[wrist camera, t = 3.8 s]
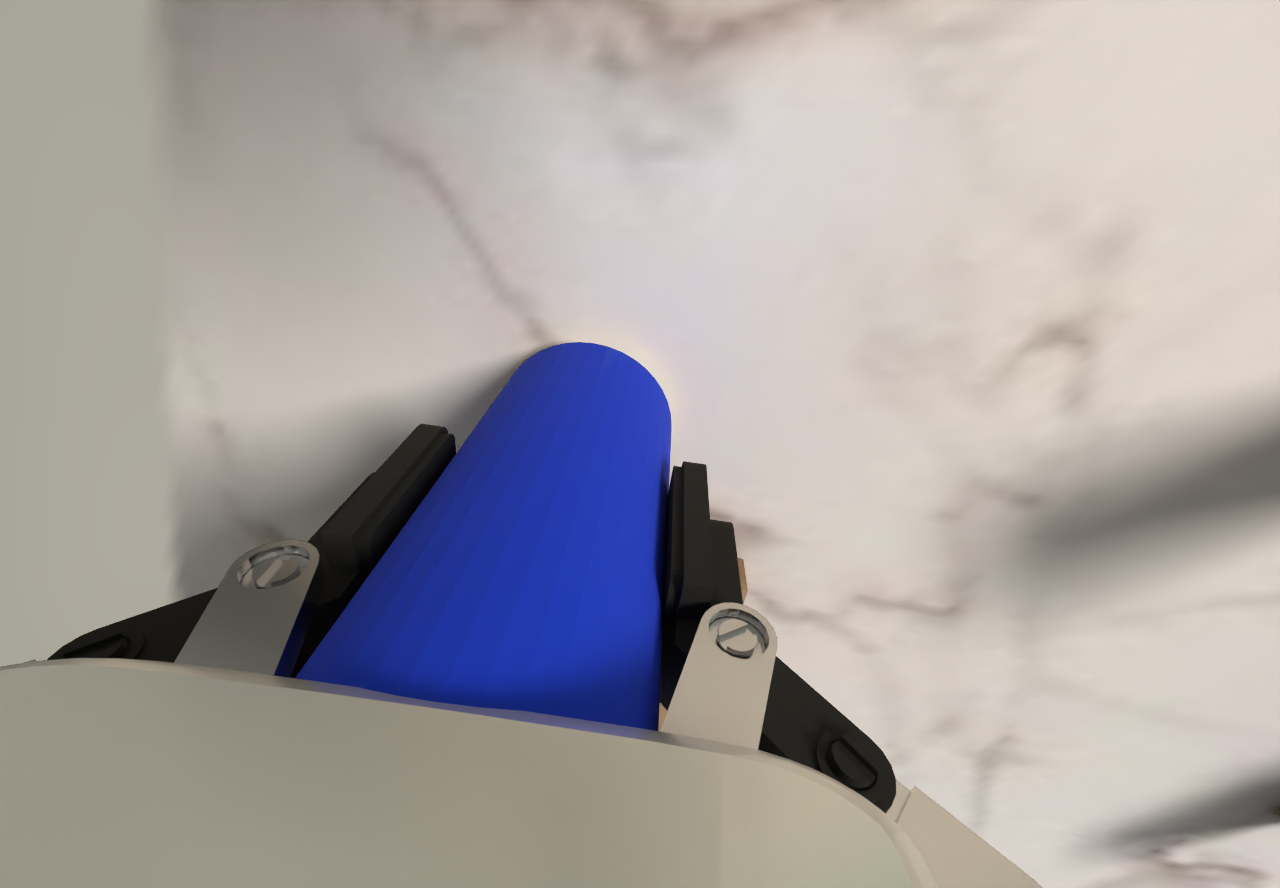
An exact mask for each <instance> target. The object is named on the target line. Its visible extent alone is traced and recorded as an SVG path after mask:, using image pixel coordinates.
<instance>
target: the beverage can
mask: <svg viewBox="0 0 1280 888" xmlns="http://www.w3.org/2000/svg"><path fill="white" fill-rule="evenodd" d="M670 448H671V413H670V410H669V406H668V402H667V399H666V397H665V395H664V393H663V390H662V389H661V387H660V386H659V384H658V383H657V381H656V380H655V378H654V377H653V376H652V375H651V374H650V373H649V372H648V371H647V370H646V368H644V367H643V366H642V365H641V364H639V363H638V362H637V361H636V360H634V359H633V358H631V357H629V356H627V355H626V354H624V353H622V352H620V351H617V350H615V349H612V348H610V347H607V346H603V345H598V344H594V343H582V342H577V343H565V344H560V345H556V346H552V347H549V348H547V349H545V350H542V351H540V352H538V353H536V354H535V355H533V356H532V357H530V358H528V359H527V360H526V361H525V362H524V363H523V364H522V365H521V366H520V367H519V368H518V369H517V370H516V372H515V373H514V374H513V376H512V377H511V378H510V380H509V381H508V383H507V384H506V385H505V387H504V388H503V390H502V391H501V392H500V394H499V395H498V397H497V398H496V399H495V401H494V402H493V404H492V405H491V406H490V408H489V409H488V410H487V412H486V413H485V415H484V416H483V417H482V419H481V420H480V422H479V423H478V424H477V426H476V427H475V429H474V430H473V431H472V433H471V434H470V435H469V437H468V438H467V440H466V441H465V442H464V444H463V445H462V447H461V448H460V449H459V451H458V452H457V454H456V455H455V456H454V458H453V459H452V461H451V462H450V463H449V465H448V466H447V467H446V469H445V470H444V472H443V473H442V474H441V476H440V477H439V479H438V480H437V481H436V483H435V484H434V486H433V487H432V488H431V490H430V491H429V493H428V494H427V495H426V497H425V498H424V499H423V501H422V502H421V504H420V505H419V506H418V508H417V509H416V511H415V512H414V513H413V515H412V516H411V518H410V519H409V520H408V522H407V523H406V525H405V526H404V527H403V529H402V530H401V531H400V533H399V534H398V536H397V537H396V538H395V540H394V541H393V543H392V544H391V545H390V547H389V548H388V550H387V551H386V552H385V554H384V555H383V557H382V558H381V559H380V561H379V562H378V563H377V565H376V566H375V568H374V569H373V570H372V572H371V573H370V575H369V576H368V577H367V579H366V580H365V582H364V583H363V584H362V586H361V587H360V588H359V590H358V591H357V593H356V594H355V595H354V597H353V598H352V600H351V601H350V602H349V604H348V605H347V607H346V608H345V609H344V611H343V612H342V614H341V615H340V616H339V618H338V619H337V620H336V622H335V623H334V625H333V626H332V627H331V629H330V630H329V632H328V633H327V634H326V636H325V637H324V639H323V640H322V641H321V643H320V644H319V646H318V647H317V648H316V650H315V651H314V652H313V654H312V655H311V657H310V658H309V659H308V661H307V662H306V664H305V665H304V666H303V668H302V669H301V671H300V672H299V673H298V675H297V676H296V678H295V679H303V680H310V681H317V682H324V683H332V684H339V685H346V686H353V687H360V688H363V689H367V690H372V691H377V692H382V693H387V694H392V695H396V696H402V697H408V698H414V699H420V700H426V701H433V702H439V703H448V704H456V705H464V706H473V707H482V708H494V709H506V710H518V711H528V712H535V713H541V714H548V715H555V716H561V717H568V718H575V719H582V720H588V721H595V722H602V723H608V724H615V725H622V726H629V727H635V728H642V729H648V730H654V731H658V729H659V705H660V682H661V659H662V635H663V625H662V616H663V594H664V571H665V549H666V527H667V505H668V493H669V472H670Z"/></svg>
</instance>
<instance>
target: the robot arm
mask: <svg viewBox="0 0 1280 888" xmlns="http://www.w3.org/2000/svg"><path fill="white" fill-rule="evenodd" d="M455 455H456V446H455V437H454V435H453V434H448V431H447V429H446V428H445V427H440V426H433V425H426V424H420V425H419V426H418V427H417V428H416V429H415V430H414V431H413V432H412V433H411V434H410V435H409V436H408V437H407V439H406V440H405V441H404V442H403V443H402V444H401V445H400V446H399V447H398V448H397V449H396V450H395V452H394V453H393V454H392V455H391V456H390V457H389V458H388V459H387V460H386V461H385V462H384V464H383V465H382V466H381V467H380V468H379V469H378V470H377V471H376V472H374V473H372V474H371V475H370V476H368V477H367V478H366V479H365V481H364V482H363V483H362V484H361V485H360V486H359V487H358V488H357V489H356V490H355V491H354V492H353V493H352V495H351V496H350V497H349V498H348V499H347V500H346V501H345V502H344V503H343V504H342V505H341V506H340V507H339V509H338V510H337V511H336V512H335V513H334V514H333V515H332V516H331V517H330V518H329V519H328V520H327V521H326V523H325V524H324V525H323V526H322V527H321V528H320V529H319V530H318V531H317V532H316V533H315V534H314V535H313V536H312V538H311V539H310V540H309V541H308V542H304V541H301V540H282V541H275V542H271V543H268V544H265V545H261V546H259V547H257V548H255V549H253V550H251V551H249V552H247V553H245V554H244V555H243V556H241V557H240V558H239V559H237V560H236V561H235V562H234V564H233V565H232V566H231V567H230V569H229V570H228V572H227V573H226V575H225V577H224V579H223V580H222V582H221V584H220V585H219V587H218V588H216V589H213V590H210V591H207V592H204V593H201V594H198V595H195V596H192V597H189V598H187V599H184V600H181V601H178V602H175V603H172V604H169V605H166V606H163V607H160V608H157V609H154V610H152V611H149V612H146V613H143V614H140V615H137V616H134V617H131V618H128V619H125V620H122V621H119V622H116V623H114V624H110V625H108V626H105V627H102V628H99V629H96V630H94V631H92V632H89V633H87V634H84V635H82V636H80V637H78V638H76V639H75V640H73V641H72V642H70V643H68V644H66V645H64V646H63V647H61V648H60V649H59V650H58V651H57V652H55V653H54V654H53V655H52V656H51V657H49V658H48V659H47V660H44V661H35V660H32V661H28V662H25V663H21V664H15V665H8V666H2V667H0V888H1042V887H1041V886H1040V885H1039V884H1038V883H1037V882H1036V881H1035V880H1034V879H1033V878H1031V877H1030V876H1029V875H1028V874H1026V873H1025V872H1024V871H1022V870H1021V869H1020V868H1019V867H1017V866H1016V865H1015V864H1014V863H1012V862H1011V861H1010V860H1008V859H1007V858H1006V857H1005V856H1003V855H1002V854H1001V853H1000V852H998V851H997V850H996V849H994V848H993V847H992V846H991V845H989V844H988V843H987V842H986V841H984V840H983V839H982V838H981V837H979V836H978V835H977V834H975V833H974V832H973V831H972V830H970V829H969V828H968V827H967V826H965V825H964V824H963V823H961V822H960V821H959V820H958V819H956V818H955V817H954V816H953V815H951V814H950V813H949V812H948V811H946V810H945V809H944V808H942V807H941V806H940V805H939V804H937V803H936V802H935V801H934V800H932V799H931V798H930V797H928V796H927V795H926V794H925V793H923V792H922V791H921V790H920V789H918V788H917V787H916V786H914V787H913V789H912V790H911V791H910V790H909V789H908V788H906V787H905V786H904V785H903V784H901V783H900V782H899V781H898V780H896V779H895V776H894V773H893V770H892V767H891V764H890V763H889V761H888V759H887V758H886V756H885V755H884V753H883V751H882V750H881V749H880V748H879V747H878V746H877V745H876V744H875V743H874V742H873V741H872V740H871V739H870V738H869V737H868V736H867V735H866V734H864V733H863V732H862V731H861V730H860V729H859V728H858V727H856V726H855V725H854V724H853V723H852V722H851V721H850V720H848V719H847V718H846V717H845V716H844V715H843V714H842V713H840V712H839V711H838V710H837V709H836V708H835V707H834V706H832V705H831V704H830V703H829V702H828V701H827V700H826V699H824V698H823V697H822V696H821V695H820V694H819V693H818V692H816V691H815V690H814V689H813V688H812V687H811V686H810V685H808V684H807V683H806V682H805V681H804V680H803V679H802V678H800V677H799V676H798V675H797V674H796V673H795V672H794V671H792V670H791V669H790V668H789V667H788V666H787V665H786V664H784V663H783V662H782V661H781V660H780V659H779V658H778V657H776V651H777V636H776V633H775V631H774V628H773V627H772V625H771V624H770V623H769V621H768V620H767V619H766V618H765V617H764V616H763V615H761V614H760V613H759V612H758V611H756V610H754V609H752V608H750V607H748V606H746V605H743V599H742V591H741V583H740V575H739V567H738V559H737V551H736V543H735V536H734V528H733V524H732V523H731V522H724V521H717V520H710V513H709V498H708V484H707V469H706V465H704V464H698V463H691V462H684V461H683V464H682V467H677V466H674V467H673V471H672V477H671V482H670V487H669V493H668V505H667V527H666V549H665V571H664V594H663V616H662V625H663V635H662V659H661V682H660V703H661V704H662V705H663V707H664V708H665V709H666V710H667V714H666V717H665V719H664V722H663V725H662V728H661V730H660V731H654V730H648V729H642V728H635V727H629V726H622V725H615V724H608V723H602V722H595V721H588V720H582V719H575V718H568V717H561V716H555V715H548V714H541V713H535V712H528V711H518V710H506V709H494V708H482V707H473V706H464V705H456V704H448V703H439V702H433V701H426V700H420V699H414V698H408V697H402V696H396V695H392V694H387V693H382V692H377V691H372V690H367V689H363V688H360V687H353V686H346V685H339V684H332V683H324V682H317V681H310V680H303V679H295V678H296V676H297V675H298V673H299V672H300V671H301V669H302V668H303V666H304V665H305V664H306V662H307V661H308V659H309V658H310V657H311V655H312V654H313V652H314V651H315V650H316V648H317V647H318V646H319V644H320V643H321V641H322V640H323V639H324V637H325V636H326V634H327V633H328V632H329V630H330V629H331V627H332V626H333V625H334V623H335V622H336V620H337V619H338V618H339V616H340V615H341V614H342V612H343V611H344V609H345V608H346V607H347V605H348V604H349V602H350V601H351V600H352V598H353V597H354V595H355V594H356V593H357V591H358V590H359V588H360V587H361V586H362V584H363V583H364V582H365V580H366V579H367V577H368V576H369V575H370V573H371V572H372V570H373V569H374V568H375V566H376V565H377V563H378V562H379V561H380V559H381V558H382V557H383V555H384V554H385V552H386V551H387V550H388V548H389V547H390V545H391V544H392V543H393V541H394V540H395V538H396V537H397V536H398V534H399V533H400V531H401V530H402V529H403V527H404V526H405V525H406V523H407V522H408V520H409V519H410V518H411V516H412V515H413V513H414V512H415V511H416V509H417V508H418V506H419V505H420V504H421V502H422V501H423V499H424V498H425V497H426V495H427V494H428V493H429V491H430V490H431V488H432V487H433V486H434V484H435V483H436V481H437V480H438V479H439V477H440V476H441V474H442V473H443V472H444V470H445V469H446V467H447V466H448V465H449V463H450V462H451V461H452V459H453V458H454V456H455Z"/></svg>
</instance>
